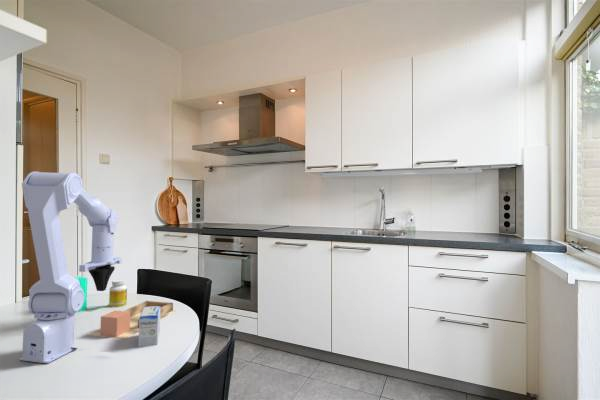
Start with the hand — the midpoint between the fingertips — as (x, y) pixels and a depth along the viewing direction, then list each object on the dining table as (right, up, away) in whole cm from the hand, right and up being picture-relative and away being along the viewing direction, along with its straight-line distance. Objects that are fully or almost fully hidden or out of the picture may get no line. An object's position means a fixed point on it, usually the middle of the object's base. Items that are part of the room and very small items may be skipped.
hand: (101, 290), depth 97 cm
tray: (+13, -10, -3) cm, 16 cm away
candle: (-15, -10, +9) cm, 20 cm away
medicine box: (+23, -10, -16) cm, 29 cm away
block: (+11, -8, -11) cm, 18 cm away
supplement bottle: (-2, -10, +12) cm, 16 cm away
